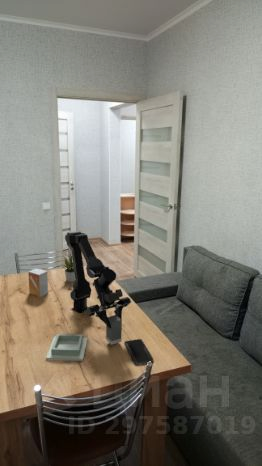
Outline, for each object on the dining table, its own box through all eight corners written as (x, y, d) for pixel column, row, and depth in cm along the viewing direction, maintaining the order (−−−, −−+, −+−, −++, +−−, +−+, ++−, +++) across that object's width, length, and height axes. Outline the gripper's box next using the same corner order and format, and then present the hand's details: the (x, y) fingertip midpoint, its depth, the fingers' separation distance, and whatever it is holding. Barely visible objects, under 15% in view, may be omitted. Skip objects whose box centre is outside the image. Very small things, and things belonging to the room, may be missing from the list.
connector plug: (105, 338, 136) (106, 317, 134) (115, 335, 139) (116, 314, 136) (111, 344, 132) (111, 322, 130) (121, 341, 135) (122, 319, 132)
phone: (134, 363, 123) (123, 341, 136) (134, 366, 123) (123, 343, 137) (154, 360, 125) (141, 338, 139) (154, 362, 125) (141, 340, 139)
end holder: (54, 338, 138) (53, 331, 137) (87, 339, 138) (87, 332, 137) (45, 360, 124) (45, 351, 123) (82, 361, 124) (82, 352, 124)
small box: (29, 293, 178) (27, 271, 175) (37, 289, 183) (36, 267, 180) (40, 297, 174) (39, 274, 171) (48, 293, 180) (47, 271, 176)
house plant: (87, 276, 204) (87, 251, 200) (81, 285, 191) (81, 258, 187) (64, 274, 205) (64, 249, 201) (57, 283, 192) (57, 257, 188)
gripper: (89, 288, 128) (101, 326, 122) (129, 279, 137) (143, 314, 131) (80, 298, 136) (92, 334, 130) (119, 289, 146) (132, 323, 140)
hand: (115, 326), depth 133 cm, fingers closed on connector plug, 5 cm apart
